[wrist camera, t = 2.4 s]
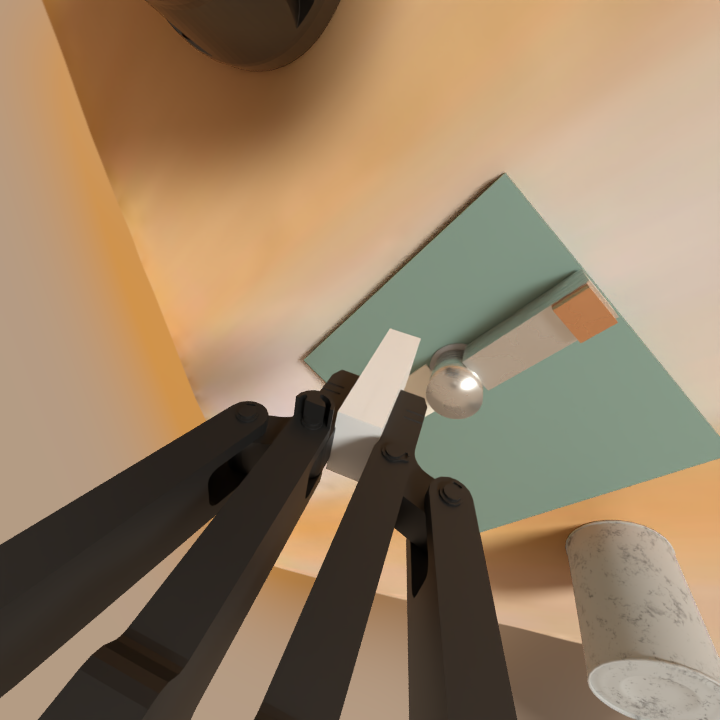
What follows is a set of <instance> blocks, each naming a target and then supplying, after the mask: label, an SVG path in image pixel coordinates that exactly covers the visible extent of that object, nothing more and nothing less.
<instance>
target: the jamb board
mask: <svg viewBox="0 0 720 720" xmlns="http://www.w3.org/2000/svg"><path fill="white" fill-rule="evenodd" d="M580 269H582V270H583V271H584V273H585V274H586V275H587V276H588V278H589V279H590V280H591V281H592V282H593V284H594V285H595V286H596V287H597V289H598V290H599V291H600V292H601V294H602V295H603V296H604V297H605V298H606V300H607V301H608V302H609V304H610V305H611V306H612V308H613V309H614V311H615V312H616V313H617V315H618V316H619V317H618V318H616V320H617V321H618V323H617V324H615V325H613V326H611V327H609V328H608V329H606V330H604V331H602V332H600V333H599V334H597V335H595V336H593V337H591V338H590V339H588V340H586V341H584V342H582V343H580V342H579V341H578V340H577V341H576V342H574V343H572V344H570V345H569V346H567V347H565V348H563V349H561V350H560V351H558V352H556V353H554V354H553V355H551V356H549V357H547V358H545V359H544V360H542V361H540V362H538V363H537V364H535V365H533V366H531V367H529V368H528V369H526V370H524V371H522V372H521V373H519V374H517V375H515V376H513V377H512V378H510V379H508V380H506V381H505V382H503V383H501V384H499V385H497V386H496V387H494V388H492V389H490V390H489V391H488V390H487V389H486V388H485V387H484V389H483V402H482V405H481V407H480V409H479V410H478V411H477V412H476V413H475V414H474V415H472V416H470V417H468V418H464V419H450V418H446V417H444V416H441V415H440V414H438V413H437V412H435V411H434V410H433V409H432V408H431V407H430V405H429V403H428V401H427V398H426V389H427V386H428V383H429V380H430V377H431V373H432V370H433V367H434V364H435V361H436V360H437V358H438V357H439V356H440V355H441V354H443V353H445V352H447V351H450V350H457V349H458V350H464V349H465V346H466V345H468V344H469V343H471V342H472V341H474V340H475V339H477V338H478V337H480V336H481V335H483V334H484V333H486V332H487V331H489V330H490V329H492V328H493V327H495V326H496V325H498V324H499V323H501V322H502V321H504V320H505V319H507V318H508V317H510V316H511V315H513V314H514V313H516V312H517V311H519V310H520V309H522V308H523V307H525V306H526V305H528V304H529V303H531V302H532V301H533V300H535V299H536V298H538V297H539V296H541V295H542V294H544V293H545V292H547V291H548V290H550V289H551V288H553V287H554V286H556V285H557V284H559V283H560V282H562V281H563V280H565V279H566V278H568V277H569V276H571V275H572V274H574V273H575V272H577V271H578V270H580ZM389 329H393V330H396V331H399V332H402V333H405V334H408V335H412V336H415V337H418V338H421V340H420V343H419V346H418V349H417V352H416V355H415V358H414V361H413V364H412V368H411V371H410V374H409V377H408V380H407V383H406V386H405V388H404V391H406V392H409V393H412V394H415V395H417V396H420V397H423V398H425V401H426V405H427V410H426V414H425V417H424V421H423V424H422V428H421V431H420V435H419V438H418V442H417V445H416V449H415V458H416V461H417V463H418V465H419V466H420V467H421V468H422V470H424V471H425V472H426V473H427V474H429V475H430V476H431V477H433V478H434V479H435V478H438V477H451V478H453V479H456V480H458V481H459V482H461V483H462V484H464V485H465V486H466V488H467V489H468V490H469V491H470V493H471V495H472V498H473V501H474V506H475V511H476V516H477V521H478V526H479V531H480V532H483V531H487V530H490V529H493V528H496V527H499V526H503V525H506V524H509V523H512V522H516V521H519V520H522V519H525V518H528V517H532V516H535V515H538V514H541V513H545V512H548V511H551V510H554V509H557V508H561V507H564V506H567V505H570V504H574V503H577V502H580V501H583V500H586V499H590V498H593V497H596V496H599V495H603V494H606V493H609V492H612V491H615V490H619V489H622V488H625V487H628V486H632V485H635V484H638V483H641V482H644V481H648V480H651V479H654V478H657V477H661V476H664V475H667V474H670V473H674V472H677V471H680V470H683V469H686V468H690V467H693V466H696V465H699V464H703V463H706V462H709V461H712V460H715V459H719V458H720V436H719V435H718V434H717V433H716V431H715V430H714V429H713V428H712V426H711V425H710V424H709V423H708V422H707V420H706V419H705V418H704V417H703V415H702V414H701V413H700V412H699V410H698V409H697V408H696V407H695V406H694V404H693V403H692V402H691V401H690V399H689V398H688V397H687V396H686V394H685V393H684V392H683V391H682V390H681V388H680V387H679V386H678V385H677V383H676V382H675V381H674V380H673V378H672V377H671V376H670V375H669V374H668V372H667V371H666V370H665V369H664V367H663V366H662V365H661V364H660V362H659V361H658V360H657V359H656V358H655V356H654V355H653V354H652V353H651V351H650V350H649V349H648V348H647V346H646V345H645V344H644V343H643V342H642V340H641V339H640V338H639V337H638V335H637V334H636V333H635V332H634V330H633V329H632V328H631V327H630V326H629V324H628V323H627V322H626V321H625V319H624V318H623V317H622V316H621V314H620V313H619V312H618V311H617V310H616V308H615V307H614V306H613V305H612V303H611V302H610V301H609V300H608V298H607V297H606V296H605V295H604V294H603V292H602V291H601V290H600V289H599V287H598V286H597V285H596V284H595V282H594V281H593V280H592V279H591V278H590V276H589V275H588V274H587V273H586V271H585V270H584V269H583V268H582V266H581V265H580V264H579V263H578V262H577V260H576V259H575V258H574V257H573V255H572V254H571V253H570V252H569V250H568V249H567V248H566V247H565V246H564V244H563V243H562V242H561V241H560V239H559V238H558V237H557V236H556V234H555V233H554V232H553V231H552V230H551V228H550V227H549V226H548V225H547V223H546V222H545V221H544V220H543V218H542V217H541V216H540V215H539V214H538V212H537V211H536V210H535V209H534V207H533V206H532V205H531V204H530V202H529V201H528V200H527V199H526V198H525V196H524V195H523V194H522V193H521V191H520V190H519V189H518V188H517V186H516V185H515V184H514V183H513V182H512V180H511V179H510V178H509V177H508V175H507V174H506V173H504V174H502V175H501V176H500V177H499V178H498V179H497V180H496V181H495V182H494V183H493V184H492V185H491V186H490V187H488V188H487V189H486V190H485V191H484V192H483V193H482V194H481V195H480V196H479V197H478V198H477V199H476V200H475V201H473V202H472V203H471V204H470V205H469V206H468V207H467V208H466V209H465V210H464V211H463V212H462V213H461V214H459V215H458V216H457V217H456V218H455V219H454V220H453V221H452V222H451V223H450V224H449V225H448V226H447V227H445V228H444V229H443V230H442V231H441V232H440V233H439V234H438V235H437V236H436V237H435V238H434V239H433V240H432V241H430V242H429V243H428V244H427V245H426V246H425V247H424V248H423V249H422V250H421V251H420V252H419V253H418V254H416V255H415V256H414V257H413V258H412V259H411V260H410V261H409V262H408V263H407V264H406V265H405V266H404V267H403V268H401V269H400V270H399V271H398V272H397V273H396V274H395V275H394V276H393V277H392V278H391V279H390V280H389V281H387V282H386V283H385V284H384V285H383V286H382V287H381V288H380V289H379V290H378V291H377V292H376V293H375V294H373V295H372V296H371V297H370V298H369V299H368V300H367V301H366V302H365V303H364V304H363V305H362V306H361V307H360V308H358V309H357V310H356V311H355V312H354V313H353V314H352V315H351V316H350V317H349V318H348V319H347V320H346V321H344V322H343V323H342V324H341V325H340V326H339V327H338V328H337V329H336V330H335V331H334V332H333V333H332V334H331V335H329V336H328V337H327V338H326V339H325V340H324V341H323V342H322V343H321V344H320V345H319V346H318V347H317V348H315V349H314V350H313V351H312V352H311V353H310V354H309V355H308V356H307V357H306V358H305V359H304V361H305V362H306V363H307V364H308V365H309V366H310V367H311V368H312V369H313V370H314V371H315V372H316V373H317V374H318V375H319V376H320V377H321V378H322V379H323V380H324V381H325V382H326V383H327V381H328V380H329V378H330V377H331V376H332V374H334V373H336V372H338V371H340V370H345V371H348V372H351V373H353V374H356V375H359V376H360V375H361V374H362V372H363V371H364V369H365V367H366V366H367V364H368V363H369V361H370V359H371V358H372V356H373V355H374V353H375V351H376V350H377V348H378V347H379V345H380V343H381V342H382V340H383V339H384V337H385V335H386V334H387V332H388V331H389Z"/></svg>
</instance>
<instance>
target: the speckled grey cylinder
mask: <svg viewBox="0 0 720 720" xmlns="http://www.w3.org/2000/svg"><path fill="white" fill-rule="evenodd" d="M565 548H566V552H567V555H568V560H569V566H570V572H571V578H572V584H573V590H574V596H575V602H576V608H577V614H578V620H579V626H580V632H581V638H582V644H583V650H584V656H585V662H586V668H587V681H588V685H589V688H590V689H591V691H592V692H593V693H594V695H595V696H596V697H597V698H599V699H600V700H601V701H602V702H603V703H605V704H606V705H608V706H609V707H611V708H612V709H614V710H616V711H618V712H620V713H621V714H623V715H625V716H628V717H631V718H633V719H635V720H720V659H719V656H718V654H717V652H716V649H715V647H714V645H713V642H712V640H711V638H710V635H709V633H708V631H707V628H706V626H705V624H704V621H703V619H702V617H701V614H700V612H699V610H698V608H697V605H696V603H695V601H694V598H693V596H692V594H691V591H690V589H689V587H688V584H687V582H686V580H685V577H684V575H683V573H682V570H681V568H680V566H679V563H678V561H677V559H676V556H675V551H674V549H673V547H672V545H671V544H670V543H669V541H668V540H667V539H666V538H665V537H664V536H662V535H661V534H659V533H658V532H656V531H655V530H653V529H650V528H648V527H646V526H644V525H640V524H636V523H633V522H628V521H620V520H602V521H595V522H591V523H588V524H584V525H582V526H580V527H578V528H576V529H575V530H574V531H573V532H572V533H571V534H570V535H569V536H568V538H567V540H566V546H565Z"/></svg>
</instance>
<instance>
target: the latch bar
mask: <svg viewBox="0 0 720 720" xmlns="http://www.w3.org/2000/svg"><path fill="white" fill-rule="evenodd" d="M618 317H619V316H618V315H617V313H616V312H615V311H614V309H613V308H612V306H611V305H610V304H609V302H608V301H607V300H606V298H605V297H604V296H603V295H602V294H601V292H600V291H599V290H598V289H597V287H596V286H595V285H594V284H593V282H592V281H591V280H590V279H589V278H588V276H587V275H586V274H585V273H584V271H583V270H582V269H580V270H578V271H577V272H575V273H574V274H572V275H571V276H569V277H568V278H566V279H565V280H563V281H562V282H560V283H559V284H557V285H556V286H554V287H553V288H551V289H550V290H548V291H547V292H545V293H544V294H542V295H541V296H539V297H538V298H536V299H535V300H533V301H532V302H531V303H529V304H528V305H526V306H525V307H523V308H522V309H520V310H519V311H517V312H516V313H514V314H513V315H511V316H510V317H508V318H507V319H505V320H504V321H502V322H501V323H499V324H498V325H496V326H495V327H493V328H492V329H490V330H489V331H487V332H486V333H484V334H483V335H481V336H480V337H478V338H477V339H475V340H474V341H472V342H471V343H469V344H468V345H466V346H465V349H464V350H458V349H457V350H450V351H447V352H445V353H443V354H441V355H440V356H439V357H438V358H437V360H436V361H435V364H434V367H433V370H432V373H431V377H430V380H429V383H428V386H427V389H426V398H427V401H428V403H429V405H430V407H431V408H432V409H433V410H434V411H435V412H437V413H438V414H440V415H441V416H444V417H446V418H450V419H464V418H468V417H470V416H472V415H474V414H475V413H476V412H477V411H478V410H479V409H480V407H481V405H482V402H483V389H484V387H485V388H486V389H487V390H488V391H489V390H490V389H492V388H494V387H496V386H497V385H499V384H501V383H503V382H505V381H506V380H508V379H510V378H512V377H513V376H515V375H517V374H519V373H521V372H522V371H524V370H526V369H528V368H529V367H531V366H533V365H535V364H537V363H538V362H540V361H542V360H544V359H545V358H547V357H549V356H551V355H553V354H554V353H556V352H558V351H560V350H561V349H563V348H565V347H567V346H569V345H570V344H572V343H574V342H576V341H577V340H578V341H579V342H580V343H582V342H584V341H586V340H588V339H590V338H591V337H593V336H595V335H597V334H599V333H600V332H602V331H604V330H606V329H608V328H609V327H611V326H613V325H615V324H617V323H618V321H617V320H616V318H618Z"/></svg>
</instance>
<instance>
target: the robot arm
mask: <svg viewBox="0 0 720 720" xmlns="http://www.w3.org/2000/svg"><path fill="white" fill-rule="evenodd" d="M145 1H147V2H148V3H149V4H150V5H151V6H152V7H154V8H155V9H156V10H157V11H158V12H159V13H160V14H161V15H162V16H164V17H165V18H166V19H167V21H168V22H169V23H170V24H171V25H172V27H173V28H174V29H175V30H176V31H177V32H178V33H179V34H180V35H181V36H182V37H183V38H184V39H185V40H186V41H187V42H188V43H190V44H191V45H192V46H193V47H194V48H196V49H197V50H199V51H200V52H202V53H203V54H205V55H206V56H208V57H210V58H212V59H214V60H216V61H219V62H221V63H224V64H227V65H230V66H233V67H237V68H240V69H243V70H248V71H268V70H273V69H277V68H279V67H282V66H284V65H287V64H289V63H290V62H292V61H294V60H295V59H297V58H298V57H299V56H301V55H302V54H303V53H304V52H306V51H307V50H308V49H309V48H310V47H311V46H312V45H313V44H314V42H315V41H316V40H317V39H318V38H319V36H320V35H321V34H322V32H323V31H324V29H325V28H326V26H327V25H328V23H329V21H330V20H331V18H332V16H333V14H334V12H335V10H336V8H337V6H338V4H339V1H340V0H145ZM420 340H421V338H418V337H415V336H412V335H408V334H405V333H402V332H399V331H396V330H393V329H389V331H388V332H387V334H386V335H385V337H384V339H383V340H382V342H381V343H380V345H379V347H378V348H377V350H376V351H375V353H374V355H373V356H372V358H371V359H370V361H369V363H368V364H367V366H366V367H365V369H364V371H363V372H362V374H361V375H360V376H359V375H356V374H353V373H351V372H348V371H345V370H340V371H338V372H336V373H334V374H332V376H331V377H330V378H329V380H328V381H327V383H326V384H325V385H324V386H323V388H322V389H321V390H320V391H316V390H311V391H305V392H301V393H300V394H299V395H297V396H296V402H295V410H294V416H293V417H277V416H269V415H268V412H267V409H266V408H265V407H264V406H263V405H261V404H259V403H257V402H251V401H246V402H239V403H237V404H235V405H232V406H231V407H229V408H227V409H226V410H224V411H222V412H221V413H219V414H217V415H216V416H214V417H212V418H211V419H209V420H207V421H206V422H204V423H202V424H201V425H199V426H197V427H196V428H194V429H193V430H191V431H189V432H188V433H186V434H184V435H183V436H181V437H179V438H177V439H176V440H174V441H172V442H171V443H169V444H167V445H166V446H164V447H162V448H161V449H159V450H157V451H156V452H154V453H152V454H151V455H149V456H147V457H146V458H144V459H143V460H141V461H139V462H138V463H136V464H134V465H133V466H131V467H129V468H128V469H126V470H124V471H123V472H121V473H119V474H118V475H116V476H114V477H113V478H111V479H109V480H108V481H106V482H104V483H103V484H101V485H99V486H98V487H96V488H94V489H93V490H91V491H89V492H88V493H86V494H84V495H83V496H81V497H79V498H78V499H76V500H74V501H73V502H71V503H69V504H68V505H66V506H64V507H63V508H61V509H59V510H58V511H56V512H54V513H53V514H51V515H49V516H48V517H46V518H44V519H43V520H41V521H39V522H38V523H36V524H34V525H33V526H31V527H29V528H28V529H26V530H24V531H23V532H21V533H20V534H18V535H16V536H14V537H13V538H11V539H9V540H8V541H6V542H4V543H3V544H1V545H0V698H1V696H3V695H4V694H6V693H7V692H8V691H9V690H11V689H12V688H13V687H14V686H16V685H17V684H18V683H19V682H20V681H21V680H23V679H24V678H25V677H26V676H27V675H29V674H30V673H31V672H32V671H33V670H34V669H35V668H37V667H38V666H39V665H40V664H41V663H43V662H44V661H45V660H46V659H47V658H48V657H50V656H51V655H52V654H53V653H54V652H55V651H57V650H58V649H59V648H60V647H61V646H63V645H64V644H65V643H66V642H67V641H68V640H69V639H71V638H72V637H73V636H74V635H75V634H77V633H78V632H79V631H80V630H81V629H83V628H84V627H85V626H86V625H87V624H88V623H90V622H91V621H92V620H93V619H94V618H95V617H97V616H98V615H99V614H100V613H101V612H102V611H104V610H105V609H106V608H107V607H108V606H110V605H111V604H112V603H113V602H114V601H115V600H116V599H118V598H119V597H120V596H121V595H122V594H124V593H125V592H126V591H127V590H128V589H129V588H131V587H132V586H133V585H134V584H135V583H137V581H139V580H140V579H141V578H142V577H144V576H145V575H146V574H147V573H148V572H149V571H150V570H152V569H153V568H154V567H155V566H156V565H158V564H159V563H160V562H161V561H162V560H164V559H165V558H166V557H167V556H168V555H169V554H171V553H172V552H173V551H174V550H175V549H177V548H178V547H179V546H180V545H181V544H182V543H184V542H185V541H186V540H187V539H188V538H189V537H191V536H192V535H193V534H194V533H195V532H196V531H198V530H199V529H200V528H201V527H202V526H203V525H205V524H206V523H207V522H208V521H209V520H210V519H212V518H213V517H214V516H215V515H216V514H217V515H216V516H215V517H214V518H213V520H212V521H211V522H210V524H209V525H208V526H207V527H206V529H205V530H204V531H203V533H202V534H201V535H200V536H199V538H198V539H197V540H196V542H195V543H194V544H193V545H192V547H191V548H190V549H189V550H188V552H187V553H186V554H185V556H184V557H183V558H182V560H181V561H180V562H179V563H178V565H177V566H176V567H175V568H174V570H173V571H172V572H171V574H170V575H169V576H168V577H167V579H166V580H165V581H164V583H163V584H162V585H161V587H160V588H159V589H158V590H157V591H156V593H155V594H154V595H153V597H152V598H151V599H150V601H149V602H148V603H147V605H146V606H145V607H144V608H143V609H142V611H141V612H140V613H139V615H138V616H137V617H136V618H135V620H134V621H133V622H132V624H131V625H130V626H129V628H128V629H127V630H126V631H125V632H124V633H123V634H122V635H121V636H120V637H119V638H118V639H116V640H114V641H112V642H110V643H108V644H105V645H103V646H102V647H101V648H100V649H99V650H97V651H96V652H95V653H94V654H92V655H91V656H90V658H89V659H88V660H87V661H86V662H85V663H84V664H83V665H82V666H81V667H80V669H79V670H78V671H77V672H76V673H75V675H74V676H73V677H72V679H71V680H70V681H69V682H68V683H67V685H66V686H65V687H64V688H63V690H62V691H61V692H60V693H59V695H58V696H57V697H56V698H55V700H54V701H53V702H52V703H51V704H50V705H49V707H48V708H47V709H46V710H45V712H44V713H43V714H42V715H41V717H40V718H39V719H38V720H191V718H192V716H193V713H194V711H195V709H196V707H197V705H198V704H199V702H200V700H201V698H202V696H203V694H204V692H205V690H206V689H207V687H208V685H209V683H210V682H211V679H212V678H213V676H214V674H215V672H216V670H217V669H218V667H219V665H220V663H221V661H222V659H223V658H224V656H225V654H226V652H227V650H228V649H229V647H230V645H231V643H232V641H233V639H234V637H235V635H236V634H237V632H238V630H239V628H240V627H241V625H242V623H243V621H244V619H245V617H246V615H247V614H248V612H249V610H250V608H251V606H252V604H253V603H254V600H255V599H256V597H257V595H258V593H259V592H260V590H261V588H262V586H263V584H264V582H265V581H266V579H267V577H268V575H269V573H270V571H271V570H272V568H273V566H274V564H275V562H276V560H277V559H278V557H279V555H280V553H281V551H282V549H283V548H284V546H285V544H286V542H287V540H288V538H289V537H290V535H291V533H292V531H293V529H294V527H295V526H296V524H297V522H298V520H299V518H300V516H301V515H302V513H303V511H304V509H305V507H306V505H307V504H308V502H309V500H310V498H311V496H312V494H313V493H314V491H315V489H316V487H317V485H318V483H319V482H320V479H321V475H322V470H323V468H324V466H325V465H326V463H327V467H326V469H328V470H331V471H333V472H336V473H338V474H341V475H343V476H345V477H348V478H350V479H353V480H355V481H358V484H357V486H356V488H355V491H354V493H353V495H352V497H351V500H350V502H349V504H348V507H347V509H346V511H345V514H344V516H343V518H342V520H341V523H340V525H339V527H338V530H337V532H336V534H335V537H334V539H333V541H332V543H331V546H330V548H329V550H328V553H327V555H326V557H325V560H324V562H323V564H322V566H321V569H320V571H319V573H318V576H317V578H316V580H315V582H314V585H313V587H312V589H311V592H310V594H309V596H308V599H307V601H306V603H305V605H304V608H303V610H302V613H301V615H300V617H299V619H298V622H297V624H296V626H295V629H294V631H293V633H292V635H291V638H290V640H289V642H288V645H287V647H286V649H285V651H284V654H283V656H282V659H281V661H280V663H279V665H278V668H277V670H276V672H275V674H274V677H273V679H272V681H271V684H270V686H269V688H268V691H267V693H266V695H265V697H264V700H263V702H262V704H261V706H260V709H259V711H258V713H257V715H256V717H255V719H254V720H339V718H340V715H341V711H342V708H343V704H344V701H345V698H346V694H347V691H348V687H349V683H350V680H351V676H352V673H353V669H354V666H355V662H356V659H357V656H358V651H359V648H360V645H361V642H362V638H363V635H364V631H365V628H366V624H367V621H368V617H369V613H370V610H371V607H372V603H373V600H374V596H375V593H376V589H377V586H378V582H379V579H380V575H381V572H382V568H383V565H384V561H385V558H386V554H387V551H388V547H389V544H390V540H391V537H392V533H393V530H394V528H395V529H396V530H398V531H399V532H400V533H401V534H402V535H404V536H405V537H406V538H407V539H406V557H407V614H408V671H409V674H408V675H409V720H517V716H516V711H515V706H514V702H513V696H512V692H511V686H510V682H509V677H508V672H507V666H506V661H505V656H504V652H503V646H502V641H501V637H500V631H499V626H498V621H497V616H496V611H495V606H494V601H493V596H492V591H491V586H490V581H489V576H488V571H487V566H486V561H485V556H484V551H483V546H482V541H481V536H480V531H479V526H478V521H477V516H476V511H475V506H474V501H473V498H472V495H471V493H470V491H469V490H468V489H467V488H466V486H465V485H464V484H462V483H461V482H459V481H458V480H456V479H453V478H451V477H438V478H435V479H434V478H433V477H431V476H430V475H429V474H427V473H426V472H425V471H424V470H422V468H421V467H420V466H419V465H418V463H417V461H416V458H415V449H416V445H417V442H418V438H419V435H420V431H421V428H422V424H423V421H424V417H425V414H426V410H427V405H426V401H425V398H423V397H420V396H417V395H415V394H412V393H409V392H406V391H404V388H405V386H406V383H407V380H408V377H409V374H410V371H411V368H412V364H413V361H414V358H415V355H416V352H417V349H418V346H419V343H420ZM327 461H328V462H327Z"/></svg>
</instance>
